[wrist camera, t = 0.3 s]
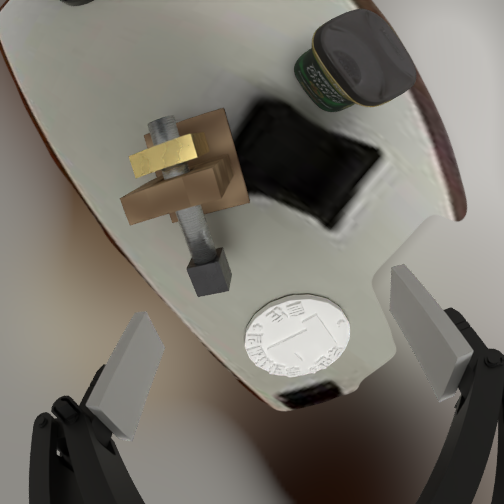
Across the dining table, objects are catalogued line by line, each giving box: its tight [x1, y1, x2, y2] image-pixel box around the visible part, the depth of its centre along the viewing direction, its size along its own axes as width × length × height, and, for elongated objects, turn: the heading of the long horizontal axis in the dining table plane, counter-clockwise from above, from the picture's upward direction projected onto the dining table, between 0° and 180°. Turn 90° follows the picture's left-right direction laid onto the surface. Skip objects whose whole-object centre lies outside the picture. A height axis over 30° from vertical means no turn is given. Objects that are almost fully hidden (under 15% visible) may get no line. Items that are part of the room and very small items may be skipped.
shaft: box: [148, 115, 232, 297], centre depth 31 cm, size 21×4×4 cm, turn 15°
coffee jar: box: [294, 9, 416, 112], centre depth 24 cm, size 10×8×19 cm
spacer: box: [129, 132, 210, 178], centre depth 29 cm, size 2×7×7 cm, turn 105°
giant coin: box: [245, 294, 350, 377], centre depth 51 cm, size 20×20×3 cm
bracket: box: [120, 108, 250, 225], centre depth 32 cm, size 14×12×15 cm
